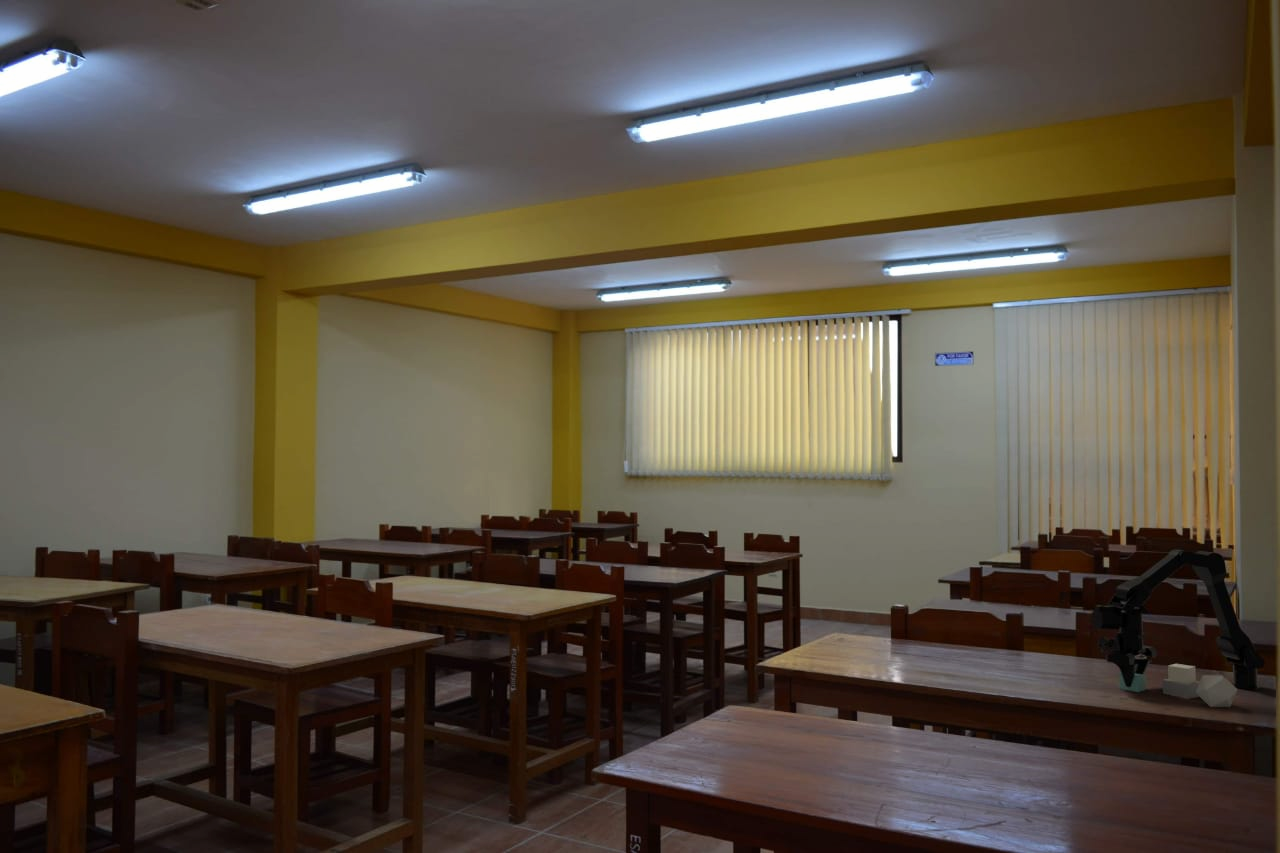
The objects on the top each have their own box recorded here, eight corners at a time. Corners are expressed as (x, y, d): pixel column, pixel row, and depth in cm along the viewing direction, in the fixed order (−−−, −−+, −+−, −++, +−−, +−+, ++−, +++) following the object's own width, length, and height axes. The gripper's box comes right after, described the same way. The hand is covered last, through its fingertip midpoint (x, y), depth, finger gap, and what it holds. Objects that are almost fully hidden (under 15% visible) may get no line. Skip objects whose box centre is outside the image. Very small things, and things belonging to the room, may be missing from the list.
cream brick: (1176, 678, 258) (1175, 663, 258) (1195, 681, 254) (1195, 666, 254) (1168, 680, 255) (1168, 665, 255) (1187, 683, 251) (1187, 668, 251)
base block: (1178, 691, 259) (1178, 677, 259) (1203, 697, 252) (1203, 682, 253) (1162, 694, 255) (1162, 679, 256) (1188, 699, 249) (1187, 684, 249)
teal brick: (1127, 686, 264) (1126, 672, 264) (1145, 689, 260) (1145, 675, 260) (1119, 688, 261) (1119, 674, 261) (1137, 692, 257) (1137, 677, 257)
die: (1236, 714, 236) (1247, 681, 239) (1203, 696, 237) (1214, 663, 241) (1217, 718, 243) (1228, 686, 247) (1185, 700, 245) (1197, 668, 248)
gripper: (1116, 622, 273) (1118, 676, 272) (1086, 629, 261) (1088, 685, 261) (1156, 627, 264) (1158, 682, 264) (1127, 634, 253) (1129, 692, 252)
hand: (1132, 685), depth 260 cm, fingers closed on teal brick, 5 cm apart
